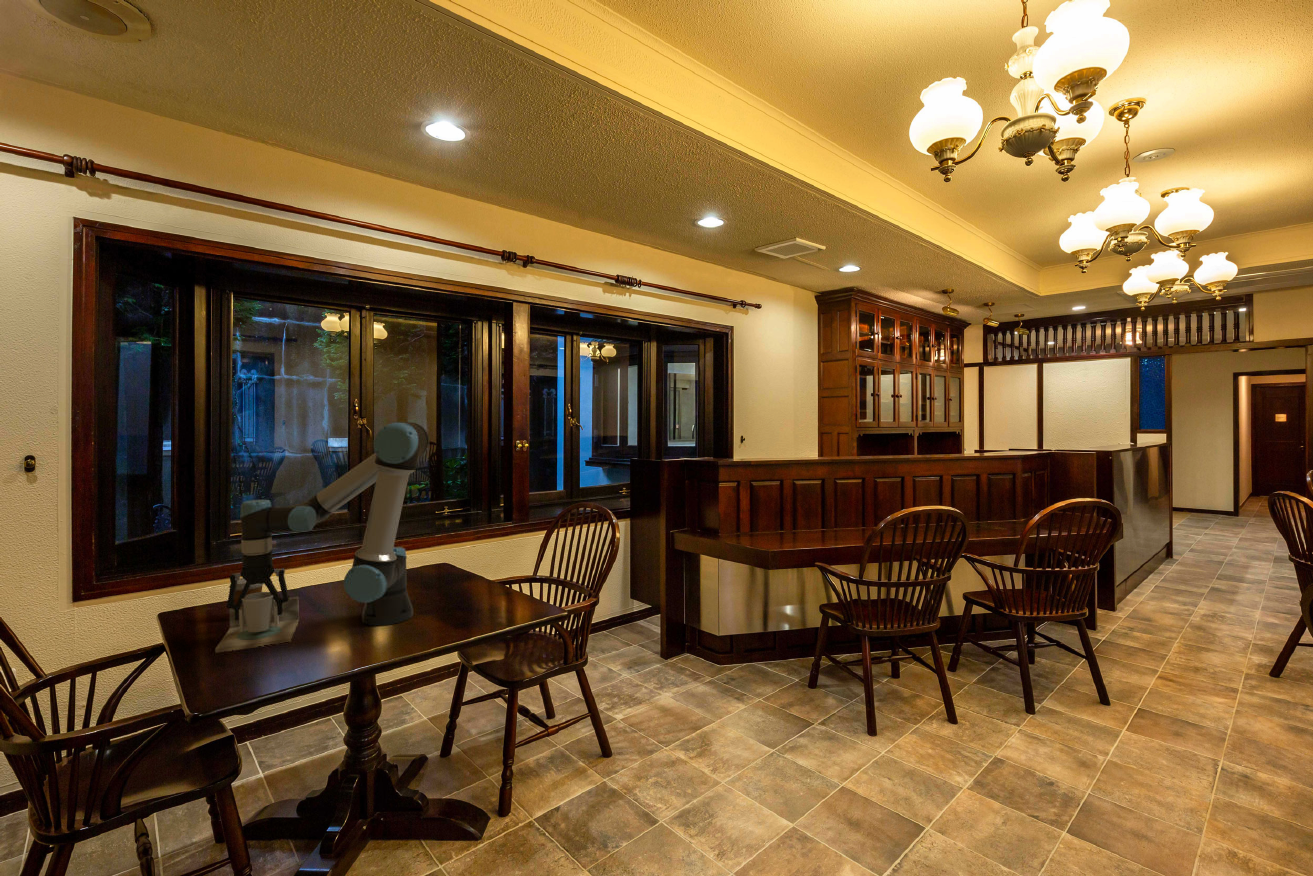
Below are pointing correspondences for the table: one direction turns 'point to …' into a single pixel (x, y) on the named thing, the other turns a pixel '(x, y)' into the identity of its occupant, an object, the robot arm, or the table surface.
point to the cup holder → (267, 637)
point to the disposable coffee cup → (252, 589)
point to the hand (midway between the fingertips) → (259, 628)
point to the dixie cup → (258, 611)
